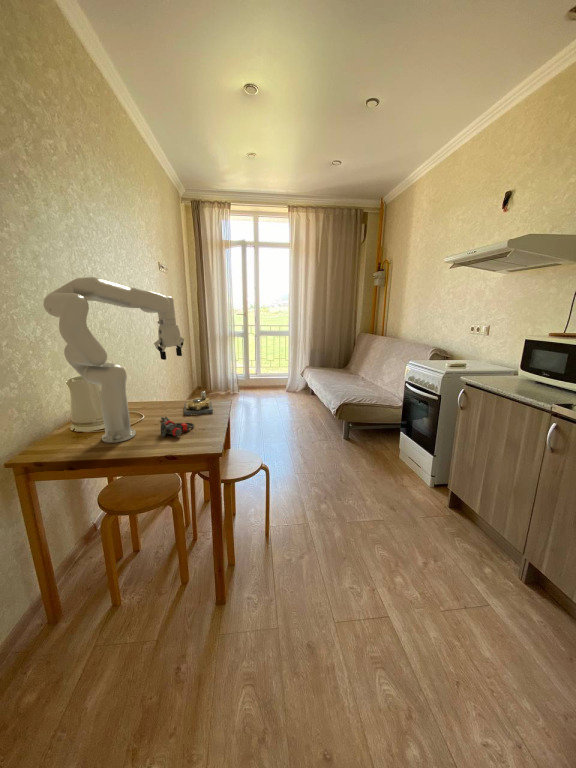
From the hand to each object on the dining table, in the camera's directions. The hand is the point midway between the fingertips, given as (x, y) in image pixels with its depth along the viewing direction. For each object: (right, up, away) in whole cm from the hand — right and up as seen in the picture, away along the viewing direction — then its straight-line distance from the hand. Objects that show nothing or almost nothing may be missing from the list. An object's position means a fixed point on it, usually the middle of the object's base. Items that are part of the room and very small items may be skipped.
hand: (171, 357), depth 151 cm
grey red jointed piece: (+6, -34, -12) cm, 36 cm away
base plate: (+10, -27, +12) cm, 31 cm away
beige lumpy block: (+10, -25, +11) cm, 29 cm away
